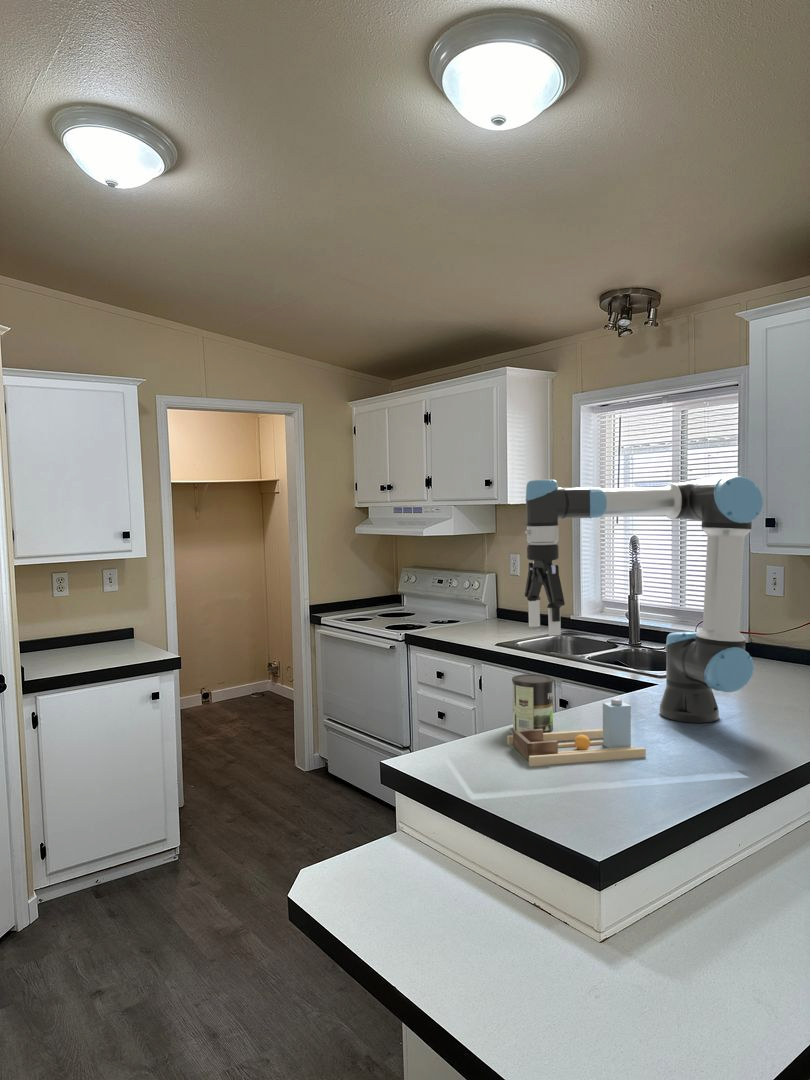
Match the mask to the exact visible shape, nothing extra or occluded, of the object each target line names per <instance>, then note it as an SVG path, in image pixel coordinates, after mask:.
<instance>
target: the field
mask: <svg viewBox="0 0 810 1080" xmlns="http://www.w3.org/2000/svg"><path fill="white" fill-rule="evenodd" d="M579 735H585V736H587V737H588V738H589V740H590V746H597V745H603V740H594V739H603V728H601V729H585V730H582V729H581V730H573V731H572V730H569V731H567V730H566V731H556V732H554V731H552V732H550V733H543V741H554V740H556V741H558V742H561V743H558V749H559V748H569V747H576V746H575V742H566V741H575V739H576V737H577V736H579ZM506 737H507V738H506V739H507V741H506V743H507V745H508V746H509V747H510V748H511V750H512V751H514V752H515V754H517V755H518V756H519V757H520V758H521V759H522V760H523V761H524V763H526V764H527V765H528V766H529V767H543V766H549V765H557V764H558V765H559V764H571V763H572V764H573V763H574V764H575V763H585V762H598V761H612V760H623V759H625V760H626V759H639V758H646V757H647V755H646V754H647V753H646V751H647V748H645V747H635V746H631V747H619V748H607V747H605V748H596V749H595V748H594V749H586V750H579V749H577V750H566V751H564V750H563V751H558V754H548V755H534V756H529V762H528V761H527V760H526V759H525V758H524V757H523V756H522V755H520V754H519V753H518V752H517V751H516V750H515V749H514V748H513V734H511V735H508V734H507V735H506ZM592 739H593V740H592ZM591 740H592V741H591ZM563 741H565V742H564V743H562V742H563Z"/></svg>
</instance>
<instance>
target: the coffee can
mask: <svg viewBox="0 0 810 1080" xmlns="http://www.w3.org/2000/svg"><path fill="white" fill-rule="evenodd" d="M511 681H512V726H513V727H512V729H513V731H517V730H532V729H543V733H552V732H554V731H553V730H554V709H553V708H554V704H553V703H554V698H553V697H554V696H553V694H554V693H553V689H554V688H553V684H554V683H553V682H554V678H553V677H551V676H547V675H545V674H535V673H533V674H529V673H526V674H517V675H515V676H512V677H511Z"/></svg>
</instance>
